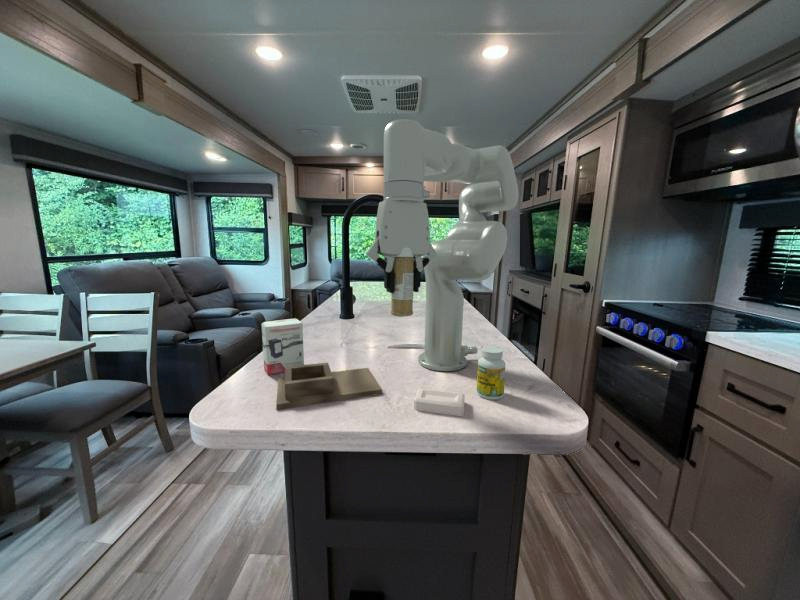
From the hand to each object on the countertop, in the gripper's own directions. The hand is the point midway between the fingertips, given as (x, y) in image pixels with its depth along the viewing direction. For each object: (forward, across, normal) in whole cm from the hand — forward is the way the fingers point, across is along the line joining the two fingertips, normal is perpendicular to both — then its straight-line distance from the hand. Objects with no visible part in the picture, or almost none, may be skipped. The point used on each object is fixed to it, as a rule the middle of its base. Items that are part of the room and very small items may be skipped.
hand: (402, 290), depth 60 cm
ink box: (+21, +23, -20) cm, 37 cm away
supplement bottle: (+21, -17, +7) cm, 28 cm away
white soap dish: (+22, -5, +8) cm, 24 cm away
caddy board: (+21, +14, -6) cm, 26 cm away
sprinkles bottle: (+5, 0, 0) cm, 5 cm away
